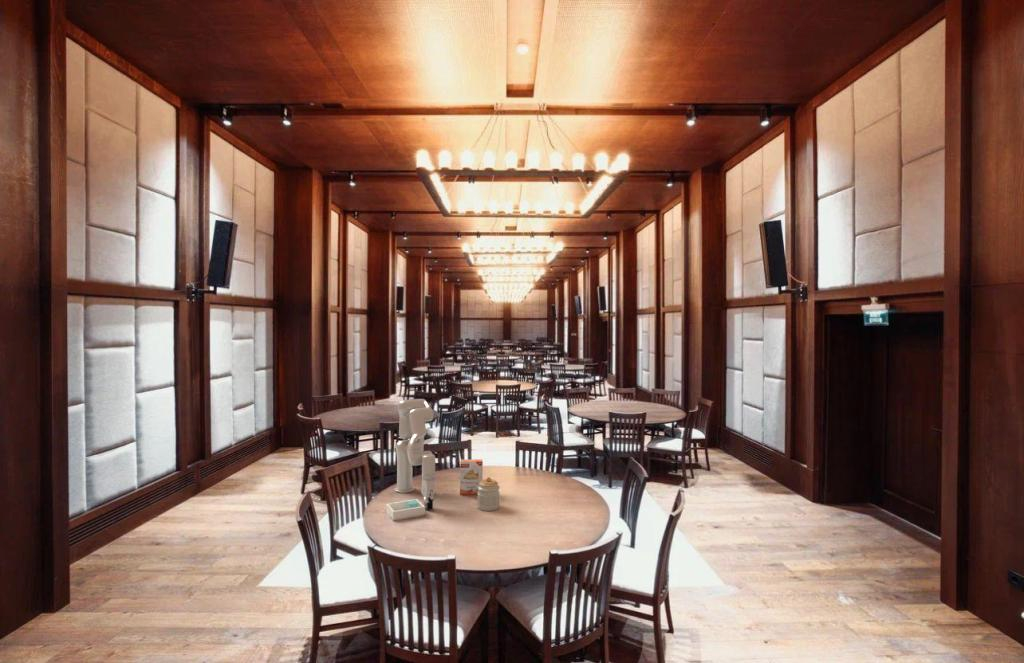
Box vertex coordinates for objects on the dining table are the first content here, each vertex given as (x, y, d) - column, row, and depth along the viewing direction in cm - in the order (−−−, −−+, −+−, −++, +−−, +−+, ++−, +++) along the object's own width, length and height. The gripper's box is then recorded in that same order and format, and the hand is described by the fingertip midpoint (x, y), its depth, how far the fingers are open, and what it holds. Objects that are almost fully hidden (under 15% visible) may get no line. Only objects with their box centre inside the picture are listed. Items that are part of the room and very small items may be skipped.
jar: (473, 509, 306) (473, 478, 305) (483, 502, 318) (484, 472, 317) (493, 512, 300) (493, 481, 300) (503, 505, 312) (503, 475, 312)
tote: (386, 512, 299) (386, 503, 299) (417, 507, 307) (417, 498, 307) (393, 521, 286) (393, 511, 286) (425, 515, 295) (425, 506, 295)
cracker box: (459, 495, 330) (460, 461, 329) (459, 492, 336) (460, 459, 335) (482, 494, 331) (482, 461, 330) (482, 491, 337) (482, 458, 336)
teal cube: (406, 510, 300) (406, 501, 300) (415, 508, 302) (415, 500, 302) (409, 513, 295) (409, 504, 295) (418, 511, 298) (418, 502, 298)
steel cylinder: (422, 508, 306) (422, 496, 306) (430, 506, 309) (430, 494, 308) (425, 511, 302) (425, 498, 302) (433, 509, 304) (433, 497, 304)
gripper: (417, 473, 310) (417, 504, 311) (427, 481, 295) (426, 513, 296) (429, 471, 314) (429, 502, 314) (439, 479, 299) (439, 511, 299)
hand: (428, 507), depth 305 cm, fingers closed on steel cylinder, 4 cm apart
